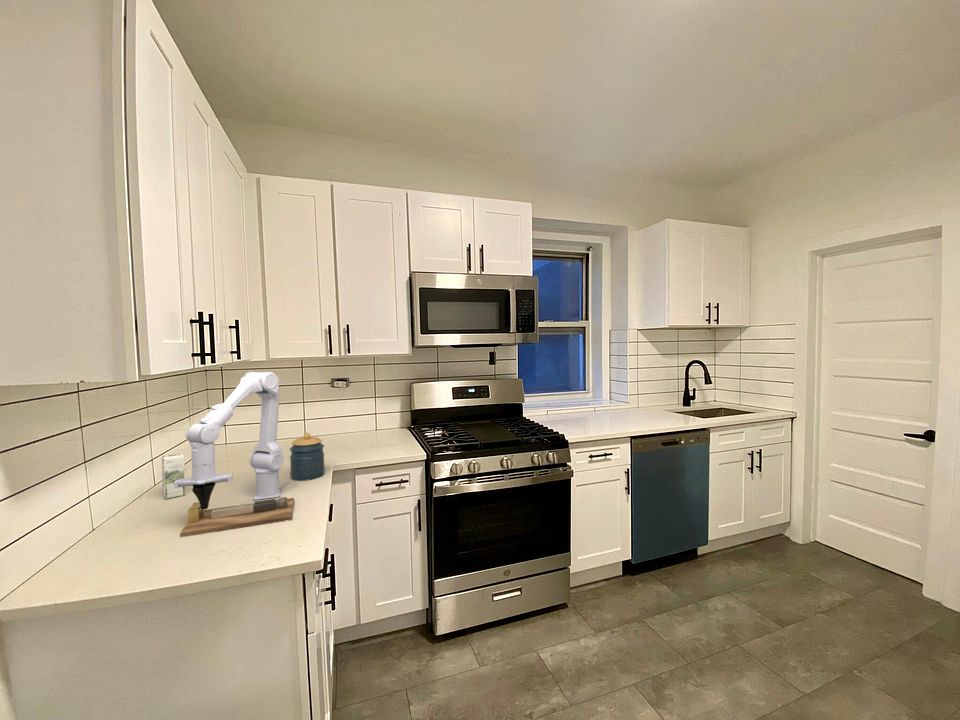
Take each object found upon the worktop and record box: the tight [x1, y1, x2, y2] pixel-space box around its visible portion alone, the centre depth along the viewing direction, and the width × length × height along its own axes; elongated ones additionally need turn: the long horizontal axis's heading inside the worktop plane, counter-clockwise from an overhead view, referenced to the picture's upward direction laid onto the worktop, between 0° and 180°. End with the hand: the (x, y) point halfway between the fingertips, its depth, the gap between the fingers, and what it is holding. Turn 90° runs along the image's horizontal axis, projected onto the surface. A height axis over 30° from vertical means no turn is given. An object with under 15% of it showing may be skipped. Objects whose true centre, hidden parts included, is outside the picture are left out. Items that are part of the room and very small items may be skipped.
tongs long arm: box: [211, 501, 276, 518], centre depth 124 cm, size 2×17×2 cm, turn 112°
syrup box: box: [161, 452, 186, 500], centre depth 143 cm, size 6×6×14 cm
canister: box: [289, 432, 326, 481], centre depth 164 cm, size 13×13×18 cm
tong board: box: [179, 496, 295, 538], centre depth 124 cm, size 16×28×4 cm, turn 112°
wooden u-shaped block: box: [187, 501, 205, 523], centre depth 120 cm, size 6×2×4 cm, turn 22°
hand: (205, 508), depth 121 cm, fingers closed
